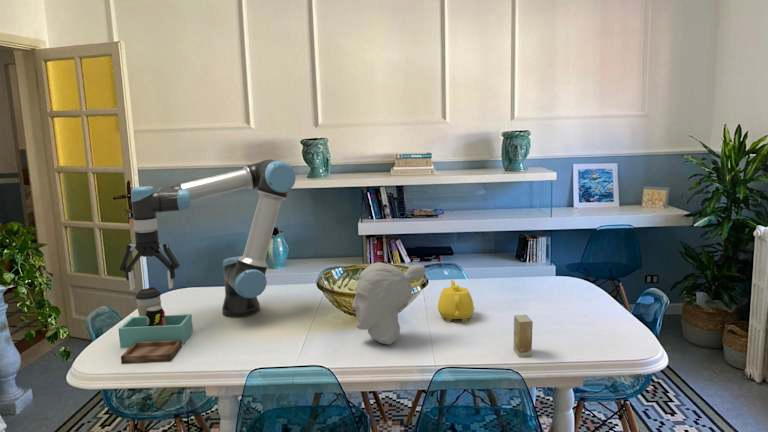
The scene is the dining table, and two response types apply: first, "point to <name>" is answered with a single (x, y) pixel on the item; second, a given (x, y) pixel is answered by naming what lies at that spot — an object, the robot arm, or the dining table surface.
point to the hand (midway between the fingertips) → (151, 288)
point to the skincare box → (523, 335)
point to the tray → (151, 351)
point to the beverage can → (155, 316)
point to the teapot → (455, 303)
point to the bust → (383, 299)
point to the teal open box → (155, 330)
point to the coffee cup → (147, 299)
